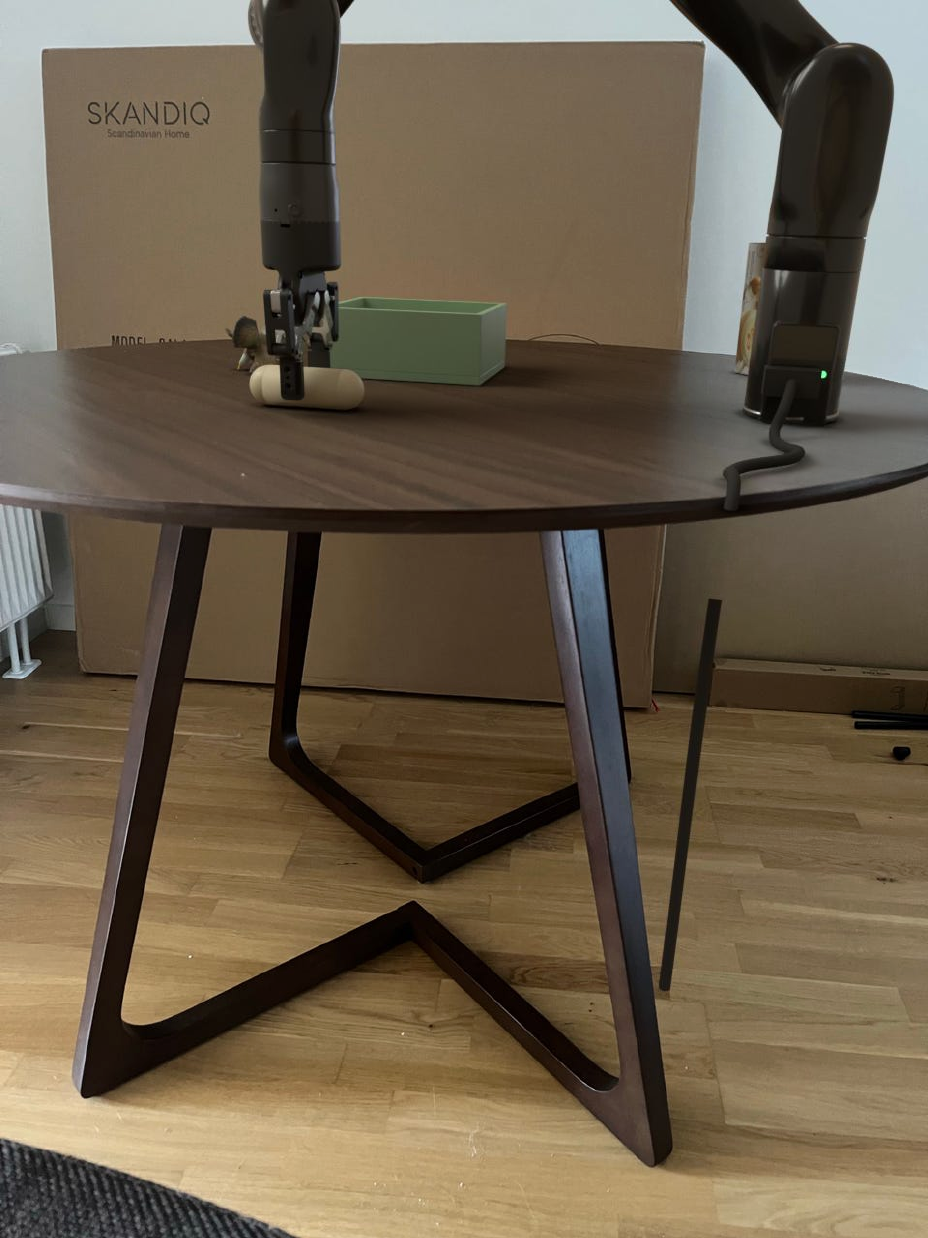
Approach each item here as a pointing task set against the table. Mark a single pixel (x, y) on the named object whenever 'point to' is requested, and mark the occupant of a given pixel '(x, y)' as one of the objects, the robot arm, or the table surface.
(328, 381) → the beige capsule
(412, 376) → the bin
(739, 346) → the coffee box
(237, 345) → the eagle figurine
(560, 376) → the table surface
